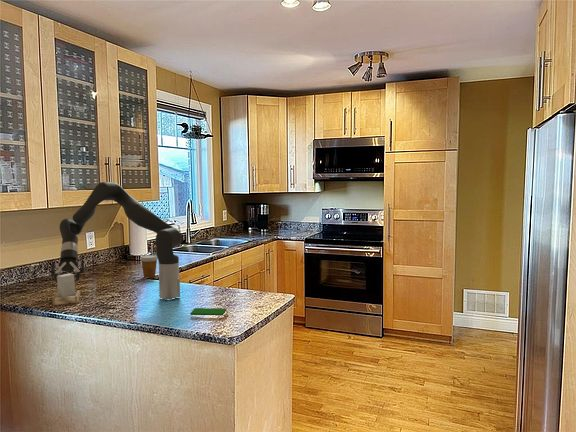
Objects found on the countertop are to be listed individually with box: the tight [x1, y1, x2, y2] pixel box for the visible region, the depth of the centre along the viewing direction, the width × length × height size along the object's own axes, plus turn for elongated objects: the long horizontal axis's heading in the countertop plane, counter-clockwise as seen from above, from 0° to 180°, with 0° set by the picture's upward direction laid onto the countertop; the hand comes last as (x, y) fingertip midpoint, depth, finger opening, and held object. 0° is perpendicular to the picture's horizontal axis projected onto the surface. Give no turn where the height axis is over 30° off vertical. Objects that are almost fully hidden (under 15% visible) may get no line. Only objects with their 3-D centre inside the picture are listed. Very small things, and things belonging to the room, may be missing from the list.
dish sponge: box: [189, 307, 228, 315], centre depth 172 cm, size 7×14×2 cm, turn 87°
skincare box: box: [56, 273, 76, 297], centre depth 191 cm, size 6×4×12 cm
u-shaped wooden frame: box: [51, 289, 81, 306], centre depth 191 cm, size 10×11×3 cm
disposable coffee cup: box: [139, 254, 158, 279], centre depth 236 cm, size 10×10×12 cm
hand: (67, 281), depth 195 cm, fingers open, 8 cm apart
